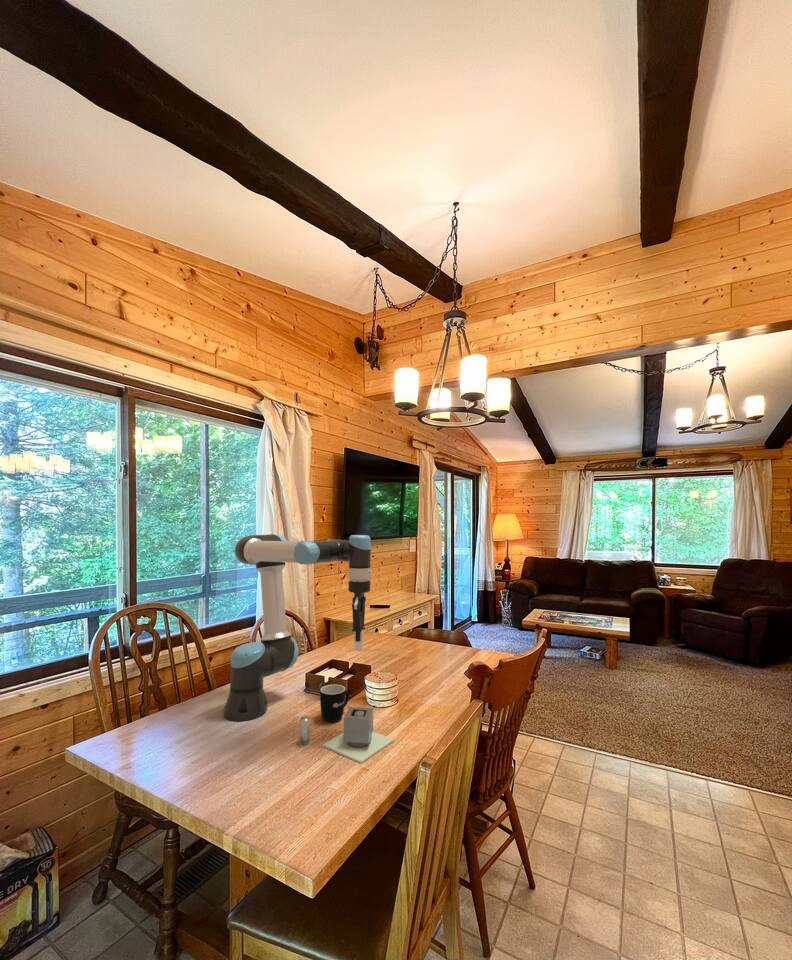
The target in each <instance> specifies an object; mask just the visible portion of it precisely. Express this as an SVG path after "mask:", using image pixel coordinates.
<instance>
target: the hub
mask: <svg viewBox="0 0 792 960" xmlns="http://www.w3.org/2000/svg"><path fill="white" fill-rule="evenodd" d="M355 716H362V717H364V712H363V711H356V712H355ZM343 734H344V732H342V733H340V734H338V735H337V736H335V737H333V738H332V739H330V740H327V741H326V742H324V743H323V744H322V747H323V748H324V749H328V750H329V751H331V752H334V753H336V754H338V755H341V756H342V757H345V758H348V759H349V760H352V761H354V762H355V763H358V764H360V765H362V764H363V763H366V761H368V760H369V759H371V758H372V757H374V756H375V755H376V754H378V753H379V752H381V751H382V750H384V749H386V747H389V746H390V745H391V744H392V743H394V742H395V739H394V738H391V737H389V736H387V735H383V734H381V733H378V732H375V731H373V732H372V735H371V738H370V741H369V743H358V742H343Z"/></svg>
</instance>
